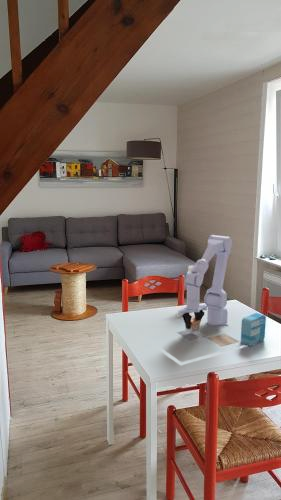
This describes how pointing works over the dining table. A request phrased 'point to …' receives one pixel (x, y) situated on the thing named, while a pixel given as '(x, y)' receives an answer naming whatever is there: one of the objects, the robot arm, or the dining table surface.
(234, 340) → the walnut stand
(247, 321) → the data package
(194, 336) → the slate stand
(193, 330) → the orange-brown cube
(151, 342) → the dining table surface
